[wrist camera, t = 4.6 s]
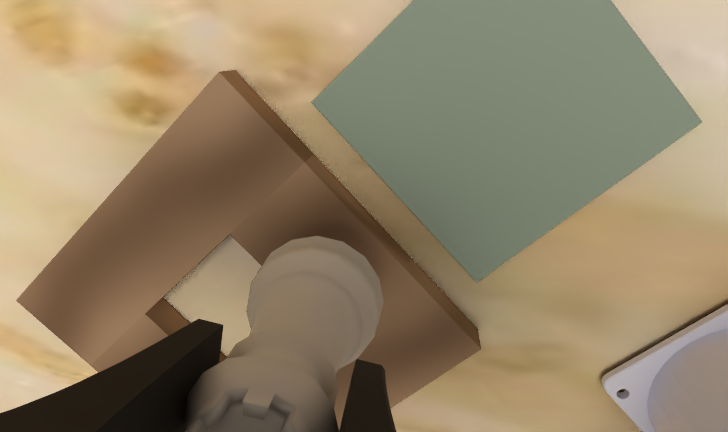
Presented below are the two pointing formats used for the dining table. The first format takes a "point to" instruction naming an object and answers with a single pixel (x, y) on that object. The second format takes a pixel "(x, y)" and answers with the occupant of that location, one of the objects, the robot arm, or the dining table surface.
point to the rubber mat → (504, 116)
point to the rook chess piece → (292, 343)
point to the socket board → (248, 227)
